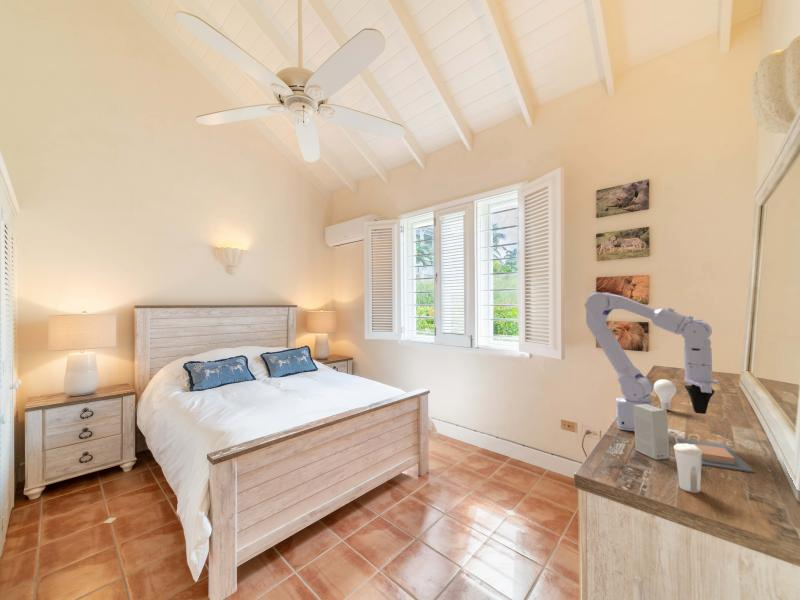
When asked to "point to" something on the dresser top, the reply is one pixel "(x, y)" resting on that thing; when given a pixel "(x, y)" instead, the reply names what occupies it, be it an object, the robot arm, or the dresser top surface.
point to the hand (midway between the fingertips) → (699, 412)
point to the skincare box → (651, 431)
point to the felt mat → (739, 463)
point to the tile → (716, 454)
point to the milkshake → (688, 466)
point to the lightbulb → (665, 392)
